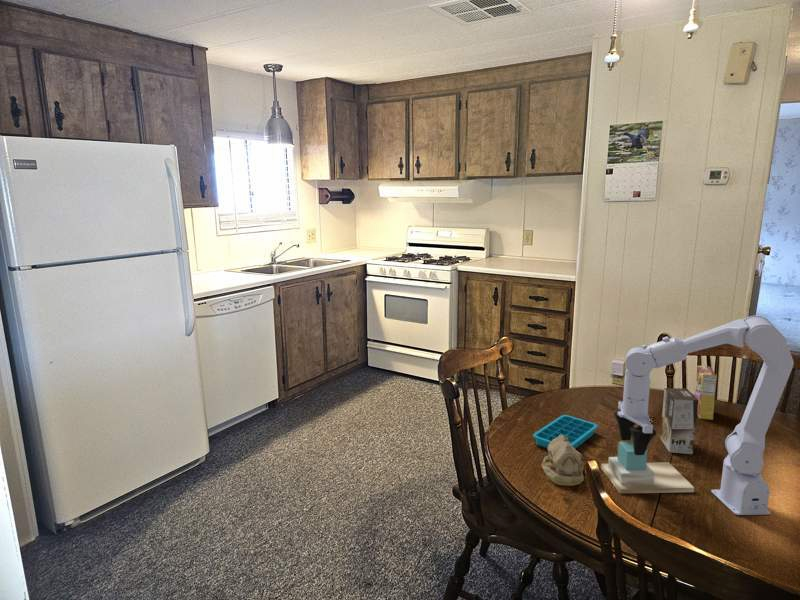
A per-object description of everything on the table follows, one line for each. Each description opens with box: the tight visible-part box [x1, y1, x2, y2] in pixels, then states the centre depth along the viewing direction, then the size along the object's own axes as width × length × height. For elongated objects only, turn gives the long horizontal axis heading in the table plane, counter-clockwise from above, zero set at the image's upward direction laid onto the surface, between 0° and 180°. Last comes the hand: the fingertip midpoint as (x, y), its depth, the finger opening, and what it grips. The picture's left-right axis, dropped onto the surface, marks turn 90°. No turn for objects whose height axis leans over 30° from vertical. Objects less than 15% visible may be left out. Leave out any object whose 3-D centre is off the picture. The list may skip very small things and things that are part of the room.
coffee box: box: [659, 387, 699, 455], centre depth 144 cm, size 9×6×16 cm
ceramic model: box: [541, 435, 585, 487], centre depth 132 cm, size 14×11×10 cm
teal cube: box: [617, 441, 648, 470], centre depth 127 cm, size 5×5×5 cm
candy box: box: [694, 365, 718, 421], centre depth 164 cm, size 9×4×15 cm, turn 160°
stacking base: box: [600, 456, 695, 494], centre depth 128 cm, size 12×18×4 cm, turn 90°
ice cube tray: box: [532, 414, 599, 449], centre depth 151 cm, size 12×20×3 cm, turn 135°
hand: (632, 446), depth 127 cm, fingers open, 7 cm apart
